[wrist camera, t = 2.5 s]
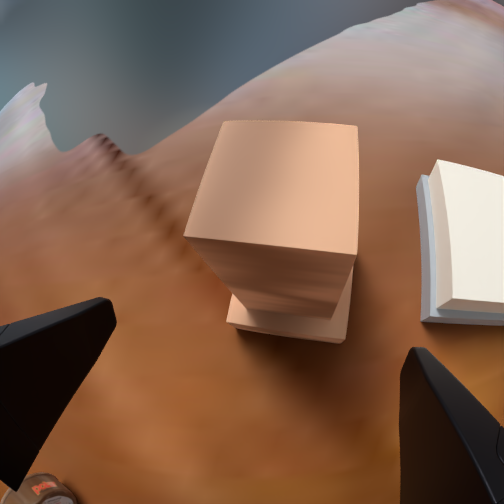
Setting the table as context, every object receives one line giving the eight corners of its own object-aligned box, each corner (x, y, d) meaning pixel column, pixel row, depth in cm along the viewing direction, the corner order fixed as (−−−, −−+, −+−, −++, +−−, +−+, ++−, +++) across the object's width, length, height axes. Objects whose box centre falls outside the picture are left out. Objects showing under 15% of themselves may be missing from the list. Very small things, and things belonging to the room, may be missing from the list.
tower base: (509, 211, 19) (521, 197, 17) (523, 327, 15) (540, 321, 13) (413, 192, 22) (421, 174, 19) (416, 323, 18) (429, 316, 15)
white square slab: (519, 201, 17) (532, 185, 15) (536, 315, 13) (555, 306, 11) (427, 179, 19) (437, 159, 17) (435, 308, 16) (452, 298, 13)
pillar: (350, 245, 20) (381, 112, 9) (340, 343, 18) (391, 295, 7) (255, 234, 22) (207, 106, 11) (235, 328, 19) (146, 262, 9)
